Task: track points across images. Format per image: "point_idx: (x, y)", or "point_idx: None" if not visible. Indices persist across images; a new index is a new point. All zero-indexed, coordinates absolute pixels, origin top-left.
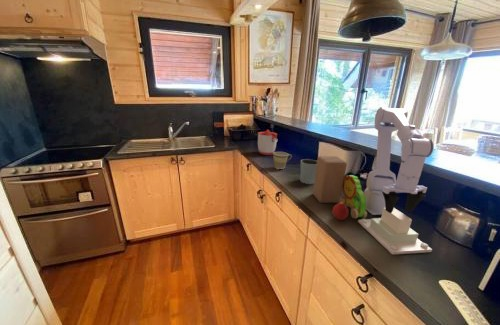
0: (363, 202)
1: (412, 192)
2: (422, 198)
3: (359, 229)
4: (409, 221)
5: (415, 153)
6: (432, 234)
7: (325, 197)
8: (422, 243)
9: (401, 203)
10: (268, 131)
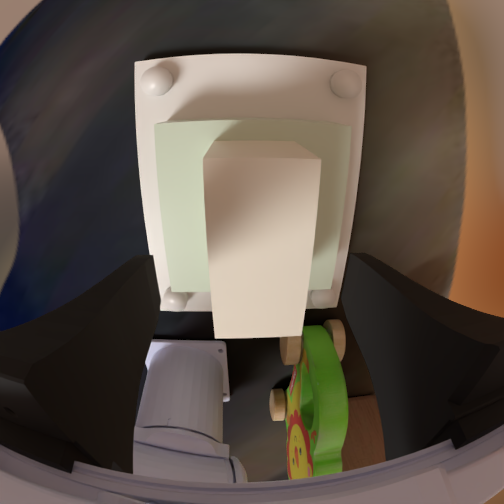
0: (334, 386)
1: None
2: (9, 339)
3: (372, 248)
4: (226, 154)
5: None
6: (40, 197)
7: (368, 412)
8: (159, 88)
9: None
10: None
